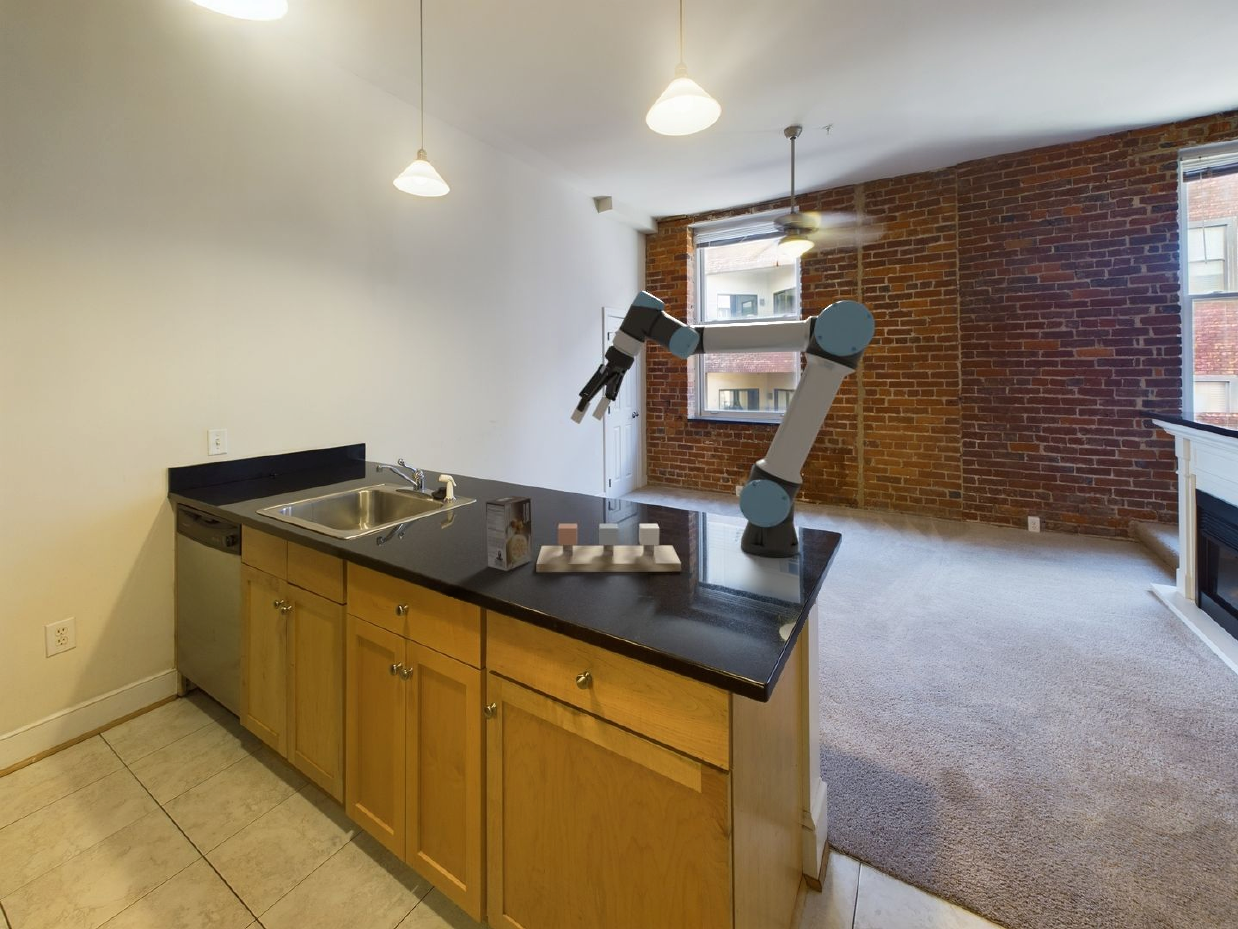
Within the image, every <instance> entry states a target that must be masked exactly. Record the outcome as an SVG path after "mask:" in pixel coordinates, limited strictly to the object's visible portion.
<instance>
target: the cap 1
mask: <svg viewBox="0 0 1238 929" xmlns="http://www.w3.org/2000/svg"><path fill="white" fill-rule="evenodd" d="M563 545H573V546H578V523H559V524H558V528H557V546H563Z"/></svg>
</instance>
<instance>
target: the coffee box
mask: <svg viewBox="0 0 1238 929" xmlns="http://www.w3.org/2000/svg"><path fill="white" fill-rule="evenodd" d="M531 504H532V503H531V498H530V497H524V496H518V495H508V496H504V497H501V498H500V497H499V498H496V499H493V500H488V501H485V508H486V509H485V510H486V511H485V512H486V536H487V537H486V538H487V542H486V544H487V566H488V567H489V568H493V569H497V570H500V571H501V570H502V571H505V572H507V571H510V570H513V569H515V568H518V567H520V566H522V565H524V564H525V565H526V564H527V563H529V562H531V561H533V552H532V550H533V549H532V548H533V545H532V507H531V506H532V505H531Z"/></svg>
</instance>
